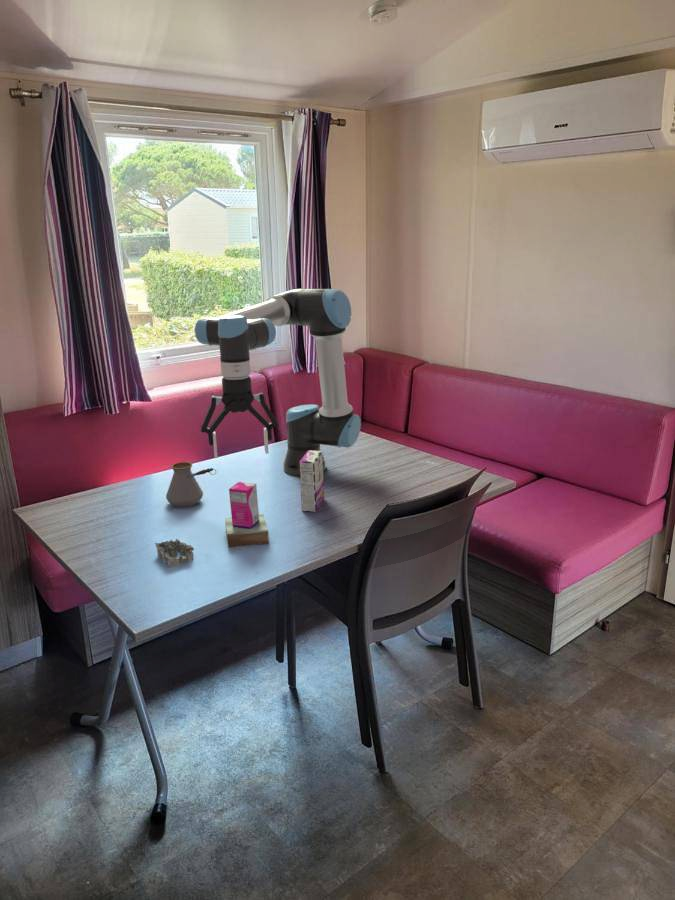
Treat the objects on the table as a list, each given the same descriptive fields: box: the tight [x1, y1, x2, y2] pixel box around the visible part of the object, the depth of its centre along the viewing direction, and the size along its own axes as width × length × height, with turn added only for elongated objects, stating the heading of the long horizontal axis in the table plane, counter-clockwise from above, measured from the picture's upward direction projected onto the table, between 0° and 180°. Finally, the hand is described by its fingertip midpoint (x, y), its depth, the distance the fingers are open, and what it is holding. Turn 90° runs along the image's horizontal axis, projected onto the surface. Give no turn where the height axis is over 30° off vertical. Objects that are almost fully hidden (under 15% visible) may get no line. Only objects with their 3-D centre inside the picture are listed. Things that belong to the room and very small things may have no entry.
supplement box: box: [228, 481, 260, 529], centre depth 184 cm, size 6×6×12 cm
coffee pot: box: [165, 461, 217, 509], centre depth 206 cm, size 21×12×15 cm, turn 50°
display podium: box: [224, 514, 269, 548], centre depth 186 cm, size 11×11×4 cm
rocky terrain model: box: [154, 538, 195, 568], centre depth 175 cm, size 11×8×4 cm
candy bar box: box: [299, 450, 325, 513], centre depth 205 cm, size 11×5×16 cm, turn 168°
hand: (241, 454), depth 179 cm, fingers open, 13 cm apart
